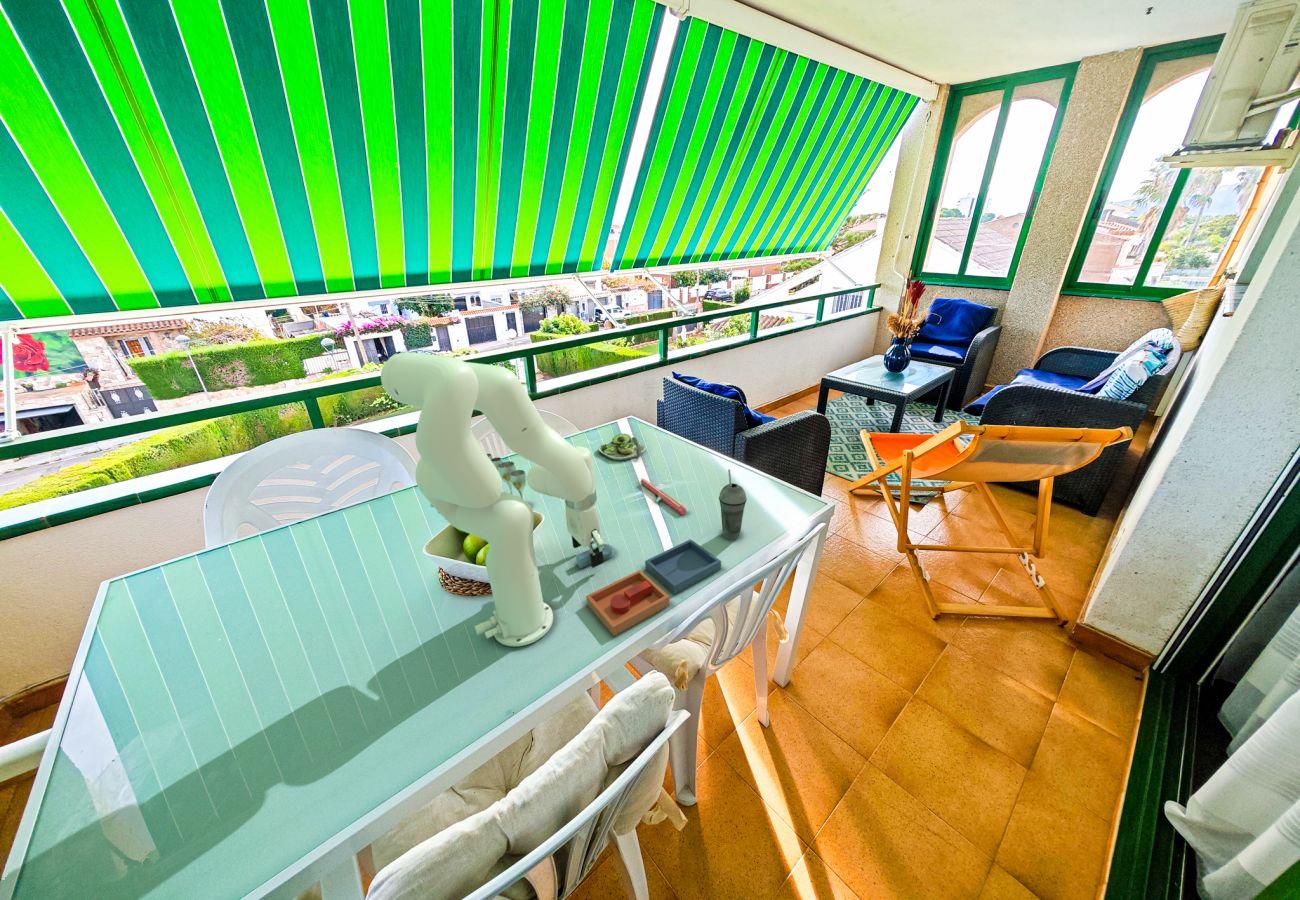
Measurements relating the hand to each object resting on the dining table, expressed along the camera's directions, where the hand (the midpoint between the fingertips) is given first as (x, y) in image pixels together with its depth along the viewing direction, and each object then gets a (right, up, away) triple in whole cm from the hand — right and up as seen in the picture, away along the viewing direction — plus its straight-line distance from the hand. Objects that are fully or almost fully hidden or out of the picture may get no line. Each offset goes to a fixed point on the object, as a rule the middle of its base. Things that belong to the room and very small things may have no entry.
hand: (588, 555), depth 116 cm
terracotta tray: (+11, -8, -14) cm, 19 cm away
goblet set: (-33, +12, +34) cm, 49 cm away
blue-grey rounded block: (+1, -1, +1) cm, 3 cm away
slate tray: (+24, -3, -3) cm, 24 cm away
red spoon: (+12, -7, -13) cm, 19 cm away
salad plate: (+5, +26, +63) cm, 68 cm away
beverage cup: (+38, +3, +9) cm, 39 cm away
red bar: (+19, +11, +28) cm, 36 cm away
